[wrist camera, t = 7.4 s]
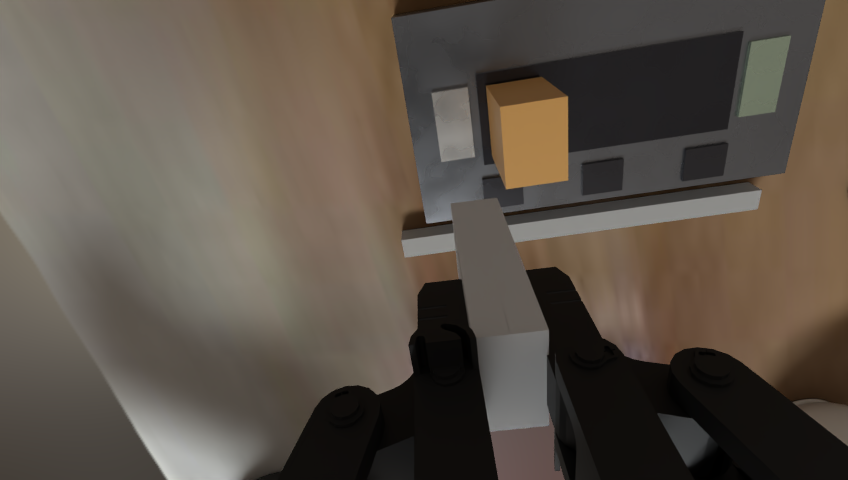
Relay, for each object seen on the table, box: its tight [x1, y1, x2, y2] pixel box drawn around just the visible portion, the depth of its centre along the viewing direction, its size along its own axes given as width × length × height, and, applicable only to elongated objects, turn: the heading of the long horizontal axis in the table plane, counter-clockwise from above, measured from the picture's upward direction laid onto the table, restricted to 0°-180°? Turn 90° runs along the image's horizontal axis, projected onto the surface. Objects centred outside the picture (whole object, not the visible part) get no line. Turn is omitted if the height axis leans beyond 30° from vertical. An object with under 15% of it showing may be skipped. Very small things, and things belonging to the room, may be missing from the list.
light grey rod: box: [401, 182, 762, 257], centre depth 32 cm, size 24×1×1 cm, turn 99°
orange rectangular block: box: [486, 77, 568, 189], centre depth 24 cm, size 3×4×5 cm
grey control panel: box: [391, 0, 825, 224], centre depth 27 cm, size 22×12×3 cm, turn 99°
